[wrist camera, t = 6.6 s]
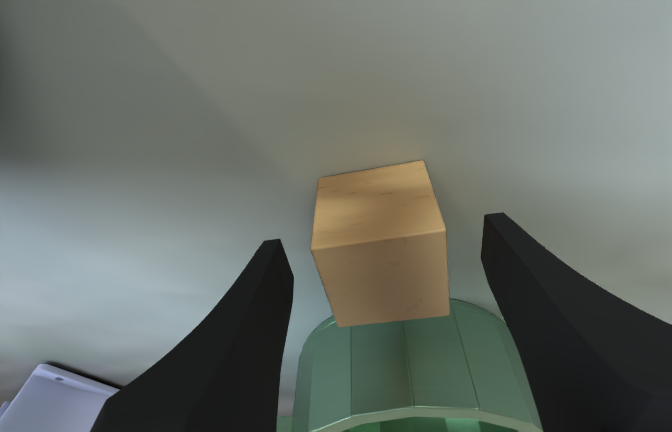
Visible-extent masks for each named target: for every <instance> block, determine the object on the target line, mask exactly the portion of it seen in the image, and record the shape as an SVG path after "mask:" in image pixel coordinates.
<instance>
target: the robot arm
mask: <svg viewBox="0 0 672 432" xmlns="http://www.w3.org/2000/svg"><path fill="white" fill-rule="evenodd" d="M481 260H482V264H483V267H484V271H485V274H486V277H487V280H488V284H489V286H490V288H491V291H492V293H493V295H494V297H495V300H496V302H497V304H498V306H499V309H500V311H501V313H502V315H503V317H504V320H505V322H506V324H507V326H508V329H509V331H510V333H511V335H512V337H513V340H514V342H515V345H516V347H517V350H518V352H519V355H520V358H521V361H522V364H523V367H524V370H525V373H526V376H527V379H528V382H529V386H530V389H531V392H532V395H533V398H534V402H535V405H536V408H537V411H538V415H539V418H540V422H541V425H542V429H543V432H672V325H671V324H669V323H666V322H664V321H662V320H660V319H658V318H656V317H654V316H652V315H650V314H648V313H646V312H644V311H642V310H640V309H638V308H637V307H635V306H633V305H631V304H629V303H627V302H625V301H623V300H622V299H620V298H618V297H616V296H615V295H613V294H611V293H609V292H608V291H606V290H604V289H603V288H601V287H600V286H598V285H596V284H595V283H593V282H592V281H590V280H588V279H587V278H585V277H584V276H582V275H581V274H579V273H578V272H576V271H575V270H574V269H572V268H571V267H569V266H568V265H567V264H565V263H564V262H562V261H561V260H560V259H558V258H557V257H556V256H555V255H553V254H552V253H551V252H550V251H548V250H547V249H546V248H545V247H543V246H542V245H541V244H540V243H538V242H537V241H536V240H535V239H534V238H532V237H531V236H530V235H529V234H528V233H527V232H525V231H524V230H523V229H522V228H521V227H520V226H518V225H517V224H516V223H515V222H514V221H513V220H512V219H511V218H509V217H508V216H507V215H506V214H505V213H495V214H486V215H485V216H484V227H483V238H482V249H481ZM293 286H294V276H293V273H292V271H291V268H290V265H289V262H288V259H287V257H286V254H285V251H284V248H283V246H282V243H281V240H280V239H275V240H267V241H264V242H263V243H262V244H261V246H260V247H259V249H258V250H257V251H256V253H255V254H254V256H253V257H252V259H251V260H250V262H249V263H248V264H247V266H246V267H245V269H244V270H243V272H242V273H241V274H240V276H239V277H238V278H237V280H236V281H235V282H234V284H233V285H232V286H231V288H230V289H229V290H228V292H227V293H226V294H225V295H224V296H223V298H222V299H221V300H220V301H219V303H218V304H217V305H216V306H215V307H214V309H213V310H212V311H211V312H210V313H209V314H208V315H207V316H206V317H205V318H204V320H203V321H202V322H201V323H200V324H199V325H198V326H197V327H196V328H195V329H194V330H193V331H192V332H191V333H190V334H188V335H187V336H186V337H185V338H184V339H183V340H182V341H181V342H180V343H179V344H178V345H177V346H176V347H174V348H173V349H172V350H171V351H170V352H169V353H168V354H166V355H165V356H164V357H163V358H162V359H160V360H159V361H158V362H157V363H156V364H154V365H153V366H152V367H150V368H149V369H148V370H147V371H145V372H144V373H143V374H141V375H140V376H139V377H137V378H136V379H135V380H133V381H132V382H130V383H129V384H128V385H126V386H125V387H123V388H122V389H121V390H119V389H117V388H114V387H111V386H108V385H105V384H102V383H100V382H97V381H94V380H91V379H88V378H85V377H82V376H80V375H77V374H74V373H71V372H68V371H65V370H63V369H60V368H57V367H54V366H51V365H48V364H39V365H38V366H37V367H36V369H35V370H34V372H33V373H32V374H31V376H30V377H29V379H28V380H27V381H26V383H25V384H24V386H23V387H22V389H21V390H20V391H19V393H18V394H17V396H16V397H15V398H14V400H13V401H12V403H11V402H8V401H5V402H4V403H3V405H2V406H1V408H0V432H276V430H277V412H278V396H279V384H280V372H281V364H282V357H283V352H284V346H285V341H286V336H287V330H288V325H289V320H290V314H291V308H292V303H293Z"/></svg>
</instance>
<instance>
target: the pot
mask: <svg viewBox="0 0 672 432" xmlns="http://www.w3.org/2000/svg"><path fill="white" fill-rule="evenodd" d="M449 302H450V315H448V316H440V317H430V318H421V319H412V320H403V321H393V322H384V323H375V324H366V325H357V326H347V327H338V326H337V323H336V320H335V318H334V315H333V316H332V317H330V318H329V319H327V320H326V321H324V322H323V323H322V324H320V325H319V326H318V327H317V328H316V329H315V330H314V331H313V332H312V333H311V334H310V336H309V337H308V338H307V340H306V342H305V344H304V346H303V349H302V352H301V354H300V356H299V364H298V373H297V382H296V391H295V400H294V409H293V417H277V430H276V432H543V429H542V425H541V422H540V418H539V415H538V411H537V408H536V405H535V402H534V398H533V395H532V392H531V389H530V386H529V382H528V379H527V376H526V373H525V370H524V367H523V364H522V361H521V358H520V355H519V352H518V350H517V347H516V345H515V342H514V340H513V337H512V335H511V333H510V331H509V329H508V327H507V326H506V325H505V324H504V323H503V322H502V321H501V320H500V319H498V318H497V317H496V316H495V315H493V314H491V313H489V312H488V311H486V310H484V309H482V308H480V307H477V306H475V305H472V304H469V303H466V302H462V301H458V300H454V299H449Z"/></svg>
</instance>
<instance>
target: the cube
mask: <svg viewBox="0 0 672 432" xmlns="http://www.w3.org/2000/svg"><path fill="white" fill-rule="evenodd" d="M310 250H311V252H312V255H313V258H314V261H315V264H316V267H317V269H318V272H319V275H320V278H321V281H322V284H323V286H324V289H325V292H326V295H327V298H328V301H329V303H330V306H331V309H332V312H333V315H334V318H335V320H336V323H337V326H338V327H347V326H357V325H366V324H375V323H384V322H393V321H403V320H412V319H421V318H430V317H440V316H448V315H450V302H449V278H448V254H447V230H446V227H445V224H444V221H443V218H442V215H441V212H440V209H439V206H438V202H437V199H436V196H435V193H434V190H433V187H432V184H431V181H430V178H429V175H428V172H427V169H426V166H425V163H424V161H423V160H421V161H416V162H410V163H404V164H398V165H392V166H386V167H381V168H375V169H369V170H363V171H357V172H352V173H346V174H340V175H334V176H328V177H322V178H319V180H318V188H317V197H316V206H315V214H314V223H313V232H312V240H311V249H310Z"/></svg>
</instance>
